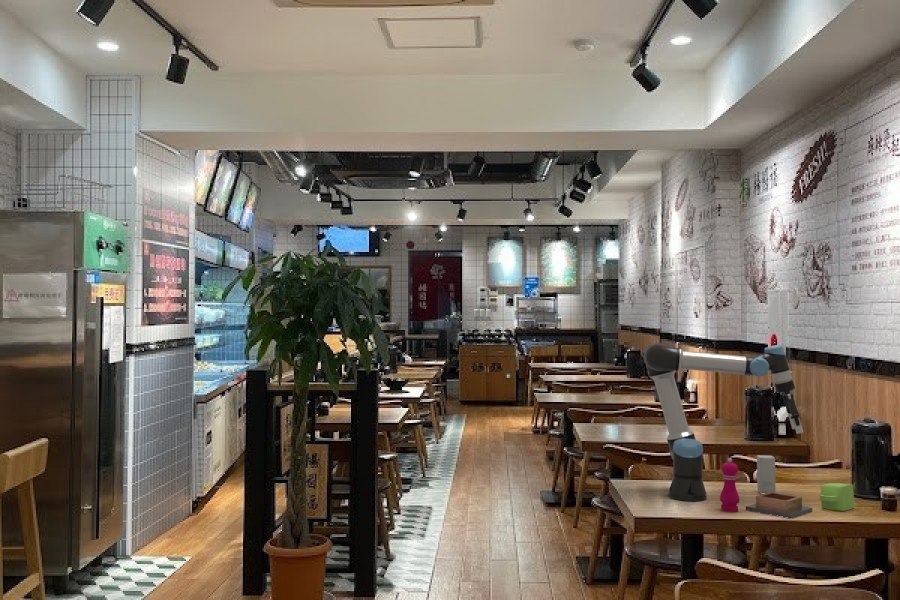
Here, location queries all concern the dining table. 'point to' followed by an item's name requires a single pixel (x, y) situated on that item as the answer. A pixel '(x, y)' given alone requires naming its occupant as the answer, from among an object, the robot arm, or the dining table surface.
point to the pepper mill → (729, 487)
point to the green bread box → (837, 496)
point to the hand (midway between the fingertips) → (798, 430)
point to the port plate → (779, 505)
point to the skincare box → (766, 474)
